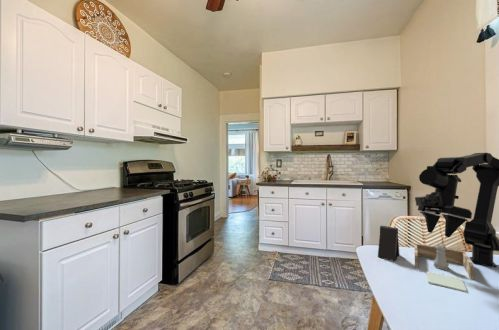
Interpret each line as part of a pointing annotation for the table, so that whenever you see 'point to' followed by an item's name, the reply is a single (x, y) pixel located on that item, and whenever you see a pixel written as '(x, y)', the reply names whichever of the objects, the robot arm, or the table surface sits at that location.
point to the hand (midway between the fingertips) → (437, 234)
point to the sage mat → (446, 281)
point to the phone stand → (388, 243)
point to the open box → (450, 256)
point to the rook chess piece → (441, 258)
